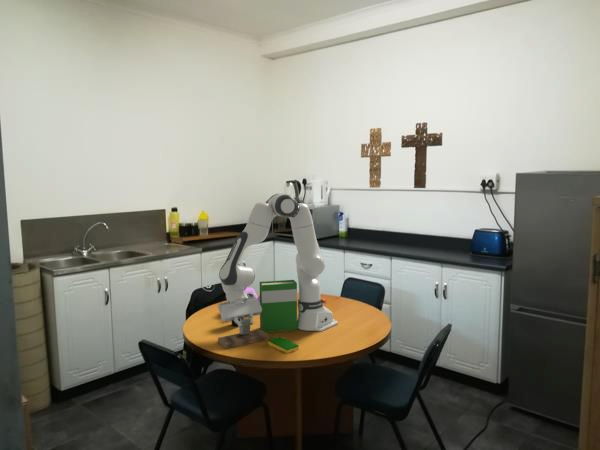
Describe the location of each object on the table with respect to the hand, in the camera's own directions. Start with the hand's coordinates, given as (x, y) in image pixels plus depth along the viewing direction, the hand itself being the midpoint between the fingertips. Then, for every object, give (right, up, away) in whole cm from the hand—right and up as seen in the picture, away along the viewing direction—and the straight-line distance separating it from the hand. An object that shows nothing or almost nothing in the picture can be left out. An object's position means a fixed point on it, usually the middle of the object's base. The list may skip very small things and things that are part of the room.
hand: (246, 325), depth 216 cm
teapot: (-4, -3, +44) cm, 44 cm away
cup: (-7, -5, +24) cm, 25 cm away
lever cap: (-1, -4, +1) cm, 4 cm away
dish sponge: (+18, -9, -5) cm, 20 cm away
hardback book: (+14, -6, +18) cm, 24 cm away
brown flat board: (-1, -8, +2) cm, 8 cm away
